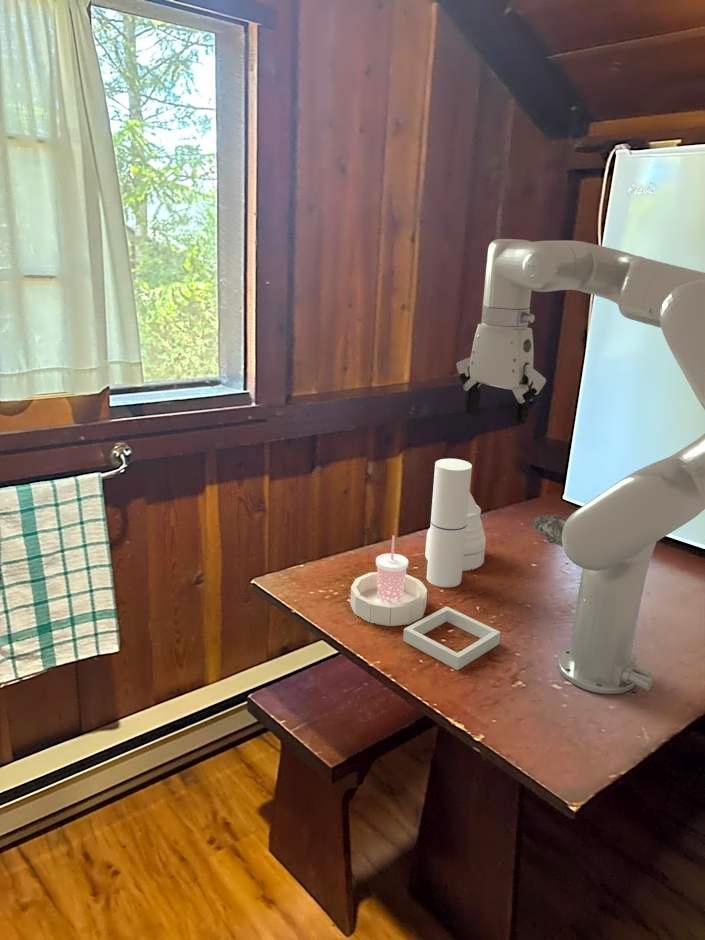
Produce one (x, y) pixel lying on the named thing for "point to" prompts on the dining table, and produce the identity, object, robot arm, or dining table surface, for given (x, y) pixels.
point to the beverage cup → (391, 576)
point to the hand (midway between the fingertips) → (494, 418)
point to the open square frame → (442, 653)
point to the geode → (550, 527)
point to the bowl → (385, 614)
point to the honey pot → (470, 538)
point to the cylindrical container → (448, 522)
